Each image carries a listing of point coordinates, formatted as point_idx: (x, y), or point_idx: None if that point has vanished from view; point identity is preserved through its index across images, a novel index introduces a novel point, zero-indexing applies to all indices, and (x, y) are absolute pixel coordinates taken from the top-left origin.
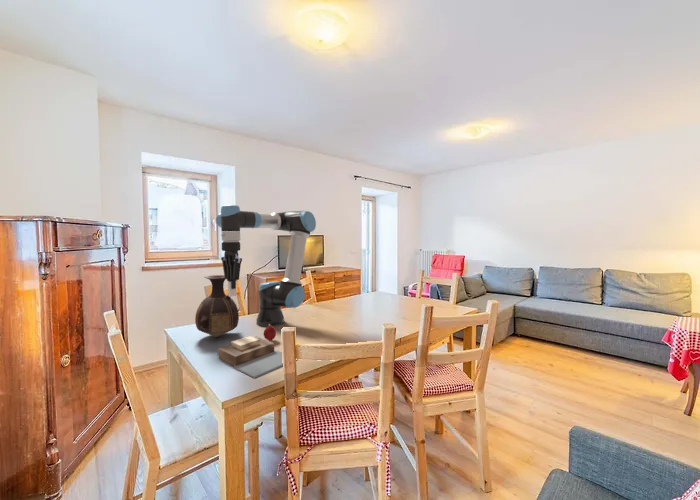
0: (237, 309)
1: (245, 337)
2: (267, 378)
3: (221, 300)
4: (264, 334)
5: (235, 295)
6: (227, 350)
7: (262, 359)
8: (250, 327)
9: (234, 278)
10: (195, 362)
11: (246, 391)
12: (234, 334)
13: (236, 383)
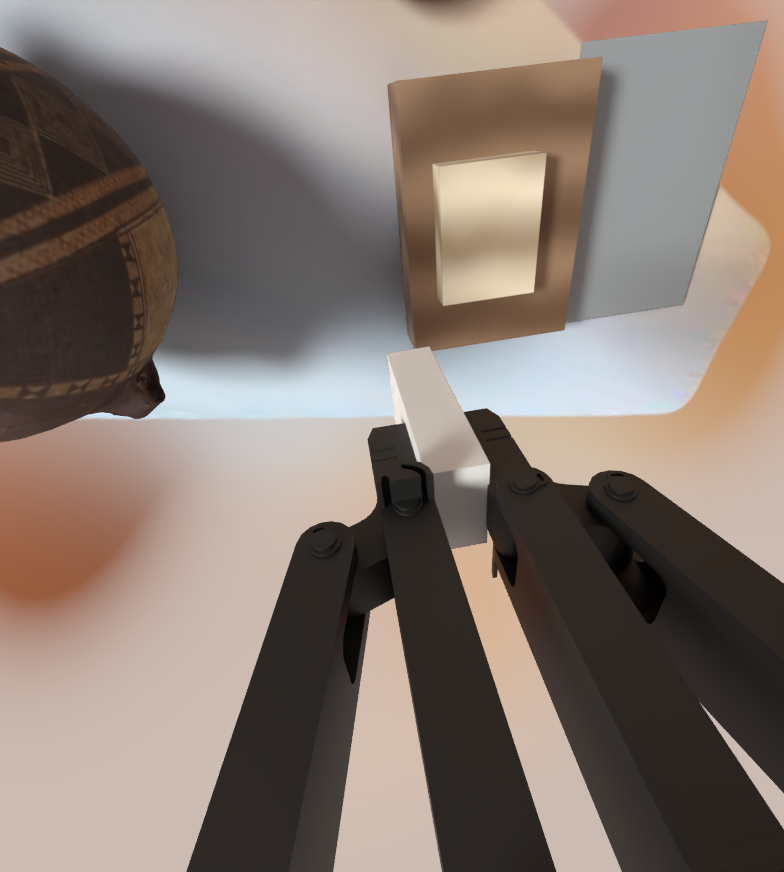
0: None
1: (444, 208)
2: (724, 265)
3: None
4: None
5: (429, 353)
6: (473, 331)
7: (602, 195)
8: None
9: (636, 560)
10: (382, 411)
11: (710, 355)
12: None
13: (646, 359)
